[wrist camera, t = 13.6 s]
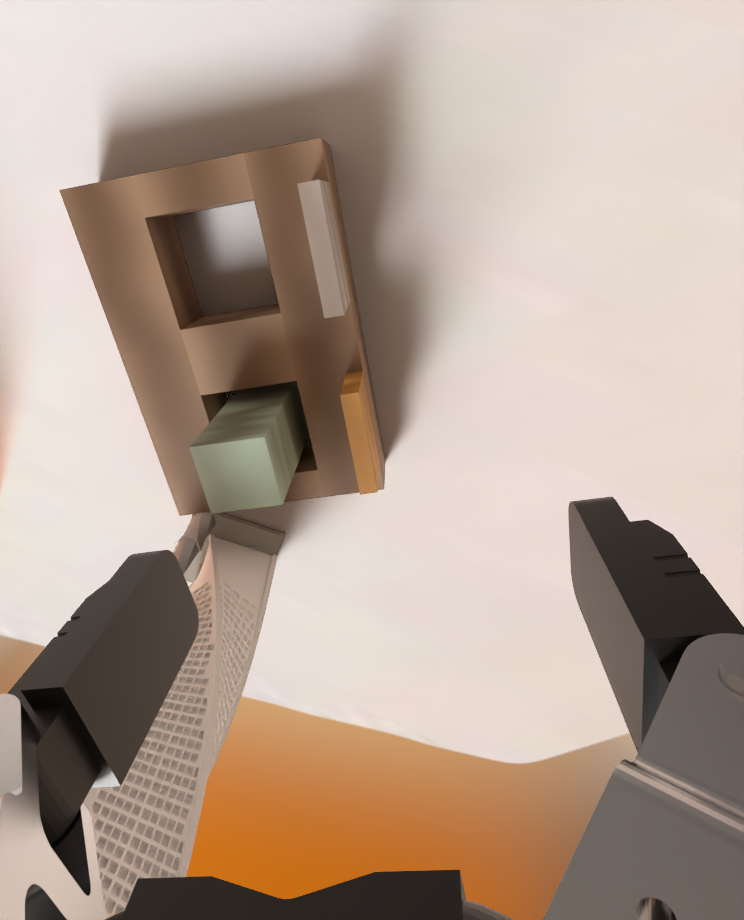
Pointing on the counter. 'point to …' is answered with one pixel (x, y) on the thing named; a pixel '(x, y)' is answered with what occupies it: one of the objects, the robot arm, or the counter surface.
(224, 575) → the skyscraper
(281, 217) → the socket block
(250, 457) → the green plug
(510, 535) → the counter surface
